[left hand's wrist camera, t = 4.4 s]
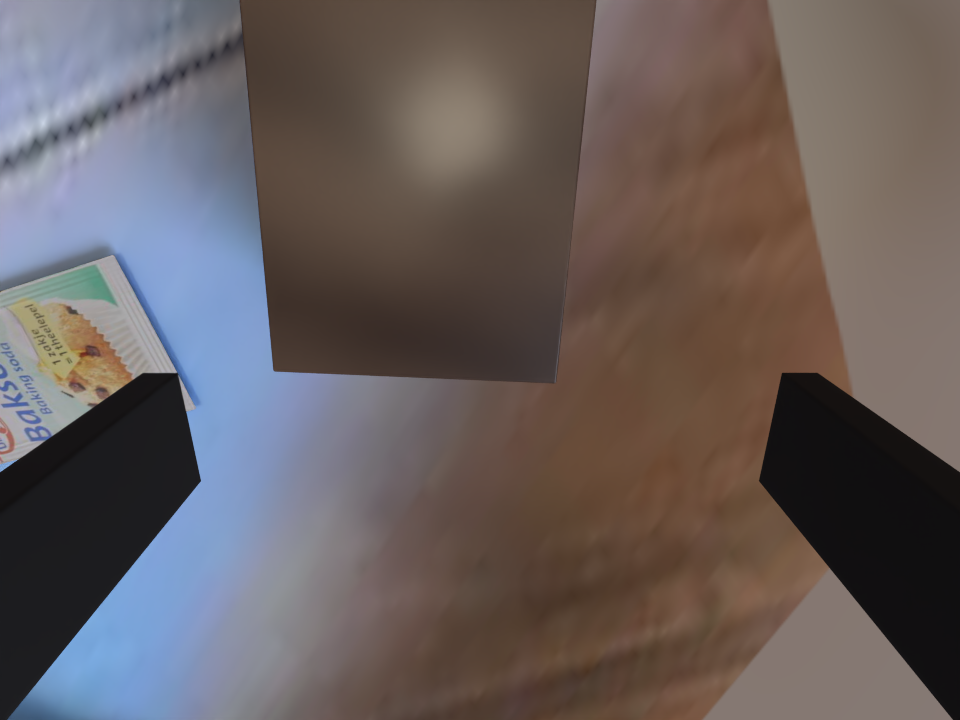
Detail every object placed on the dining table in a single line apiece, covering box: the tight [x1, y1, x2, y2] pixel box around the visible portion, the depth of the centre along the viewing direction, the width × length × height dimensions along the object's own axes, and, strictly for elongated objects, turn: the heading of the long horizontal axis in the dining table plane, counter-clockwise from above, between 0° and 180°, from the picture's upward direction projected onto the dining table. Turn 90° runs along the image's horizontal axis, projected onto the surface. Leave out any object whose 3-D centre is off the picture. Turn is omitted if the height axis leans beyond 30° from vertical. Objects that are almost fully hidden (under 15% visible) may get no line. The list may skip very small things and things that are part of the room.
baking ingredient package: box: [0, 255, 196, 464], centre depth 30 cm, size 9×1×15 cm
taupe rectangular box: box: [240, 0, 596, 383], centre depth 22 cm, size 18×10×9 cm, turn 177°
